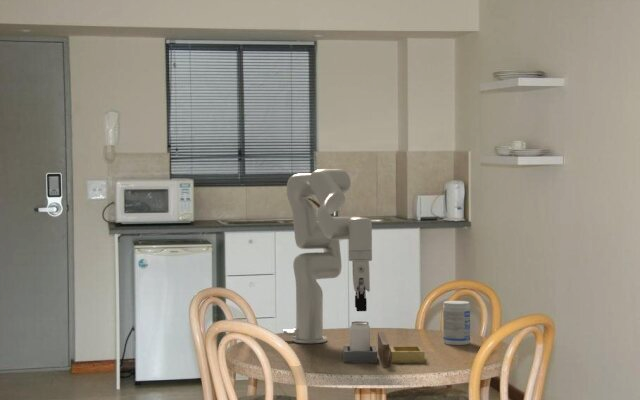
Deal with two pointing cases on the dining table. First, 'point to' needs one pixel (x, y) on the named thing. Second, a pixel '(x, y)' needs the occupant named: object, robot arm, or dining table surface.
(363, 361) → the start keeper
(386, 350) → the brown wooden plank
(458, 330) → the supplement tub
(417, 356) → the brass keeper
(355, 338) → the can
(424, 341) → the dining table surface
